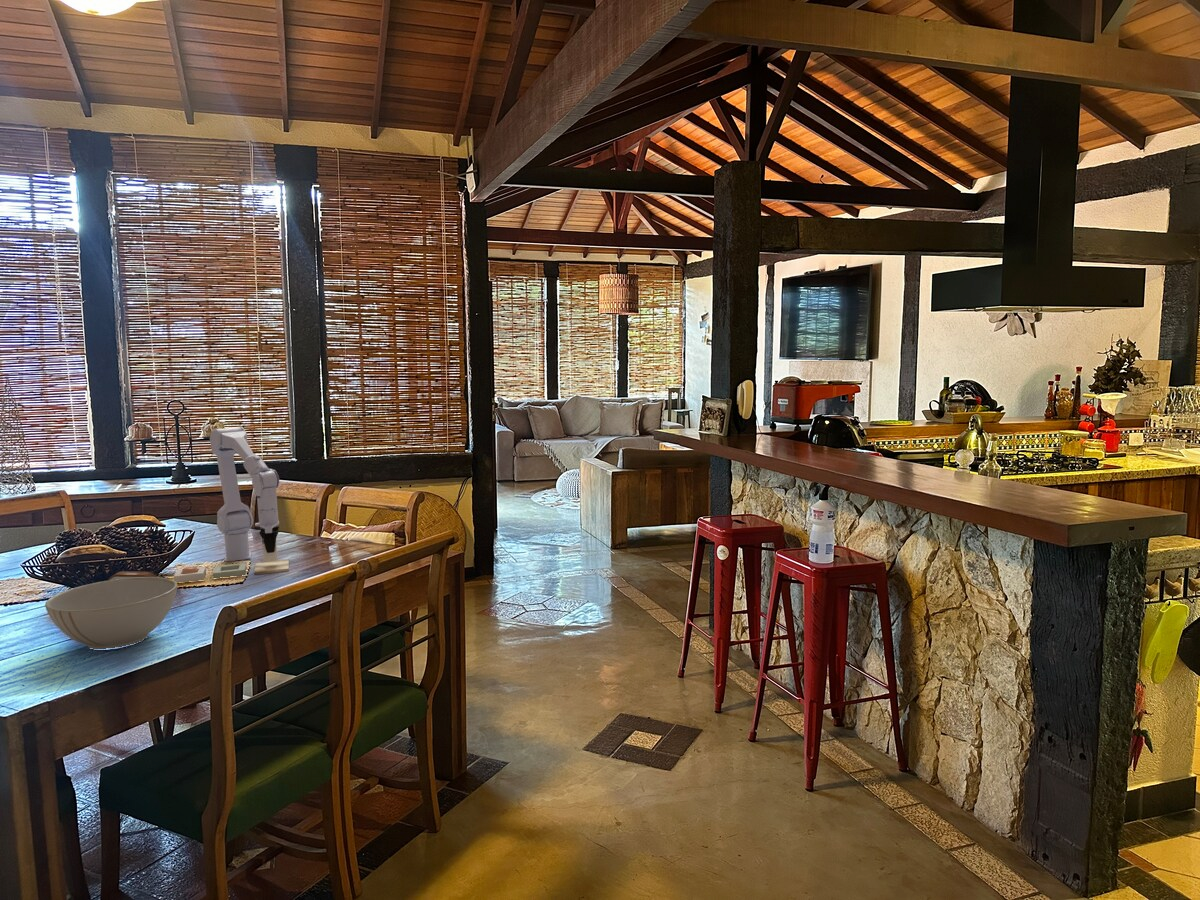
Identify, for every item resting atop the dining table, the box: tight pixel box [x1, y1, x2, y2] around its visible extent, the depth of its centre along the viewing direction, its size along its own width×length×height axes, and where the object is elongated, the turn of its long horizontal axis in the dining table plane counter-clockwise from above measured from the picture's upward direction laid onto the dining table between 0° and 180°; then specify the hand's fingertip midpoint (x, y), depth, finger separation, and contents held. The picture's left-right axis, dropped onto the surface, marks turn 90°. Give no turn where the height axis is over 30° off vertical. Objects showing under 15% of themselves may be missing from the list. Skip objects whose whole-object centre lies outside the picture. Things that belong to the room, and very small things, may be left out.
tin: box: [107, 570, 158, 581], centre depth 221 cm, size 15×3×8 cm, turn 84°
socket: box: [212, 562, 248, 579], centre depth 247 cm, size 9×9×2 cm
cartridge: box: [261, 538, 278, 562], centre depth 252 cm, size 4×4×7 cm
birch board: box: [253, 559, 290, 576], centre depth 253 cm, size 12×10×1 cm
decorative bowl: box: [44, 576, 178, 649], centre depth 189 cm, size 27×27×12 cm
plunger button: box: [181, 566, 198, 574], centre depth 242 cm, size 4×4×3 cm
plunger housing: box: [173, 566, 207, 583], centre depth 242 cm, size 8×8×2 cm
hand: (270, 550), depth 253 cm, fingers closed on cartridge, 4 cm apart
